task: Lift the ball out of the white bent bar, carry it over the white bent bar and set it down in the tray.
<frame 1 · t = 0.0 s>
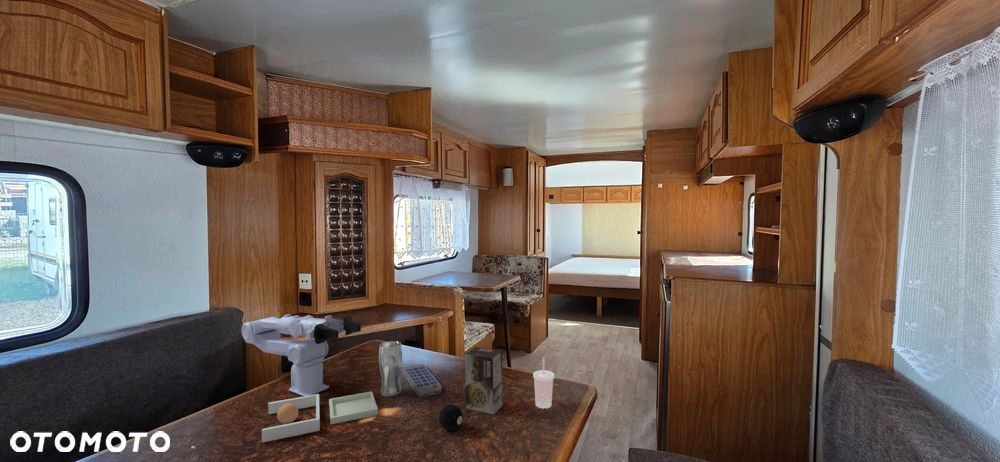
hand: (348, 331, 115), 22 cm above the table, tool horizontal, fingers open, 7 cm apart
billiard ball: (450, 429, 104), on the table
beverage cup: (543, 405, 116), on the table
beer glass: (391, 392, 125), on the table
ball: (288, 422, 107), on the table
white bent bar: (317, 416, 110), on the table
remote control: (420, 382, 133), on the table
tray: (352, 409, 114), on the table
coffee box: (484, 407, 115), on the table
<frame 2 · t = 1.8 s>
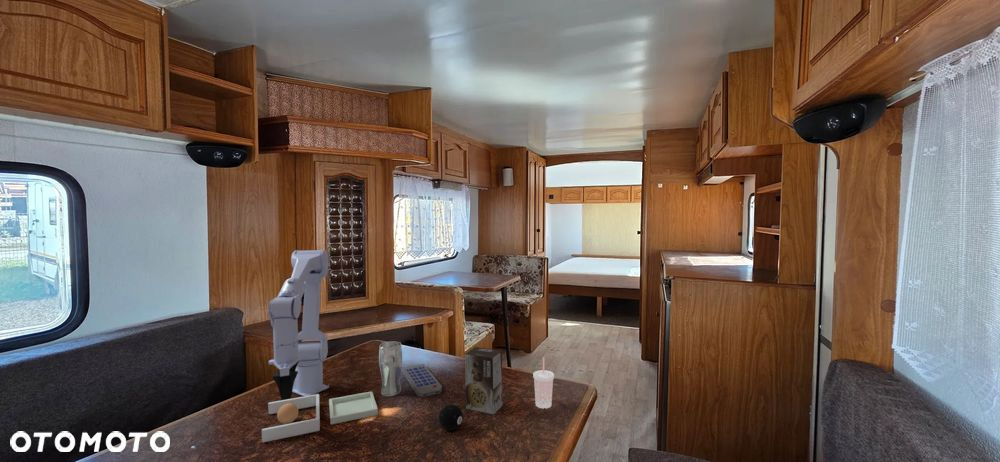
hand: (287, 392, 106), 8 cm above the table, tool pointing down, fingers open, 7 cm apart
nothing on the table moved.
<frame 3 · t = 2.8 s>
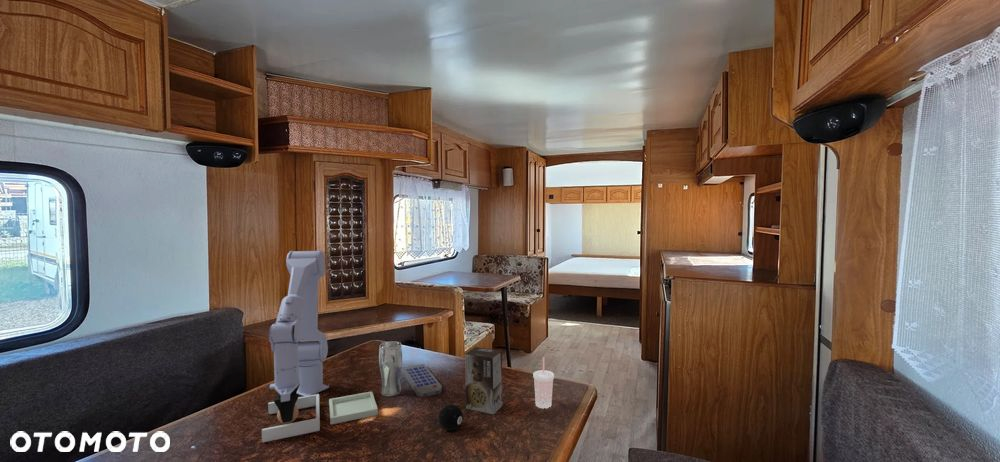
hand: (288, 416, 107), 2 cm above the table, tool pointing down, fingers closed on ball, 5 cm apart
ball: (288, 422, 107), on the table, touching gripper
everything else where it was.
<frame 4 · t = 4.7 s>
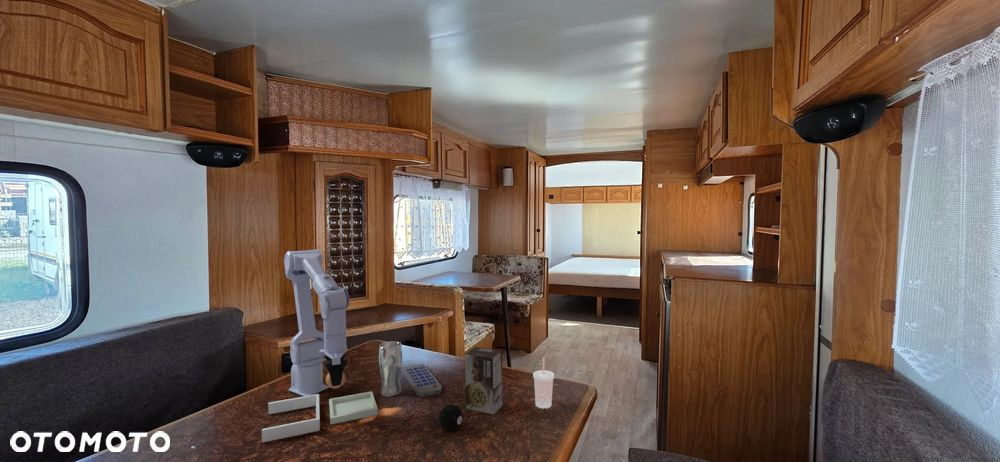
hand: (336, 381, 111), 9 cm above the table, tool pointing down, fingers closed on ball, 5 cm apart
ball: (335, 387, 111), point 7 cm above the table, touching gripper
everything else where it was.
when the fingers open (4 cm above the table, at t = 6.5 s): ball drops 2 cm, resting on tray.
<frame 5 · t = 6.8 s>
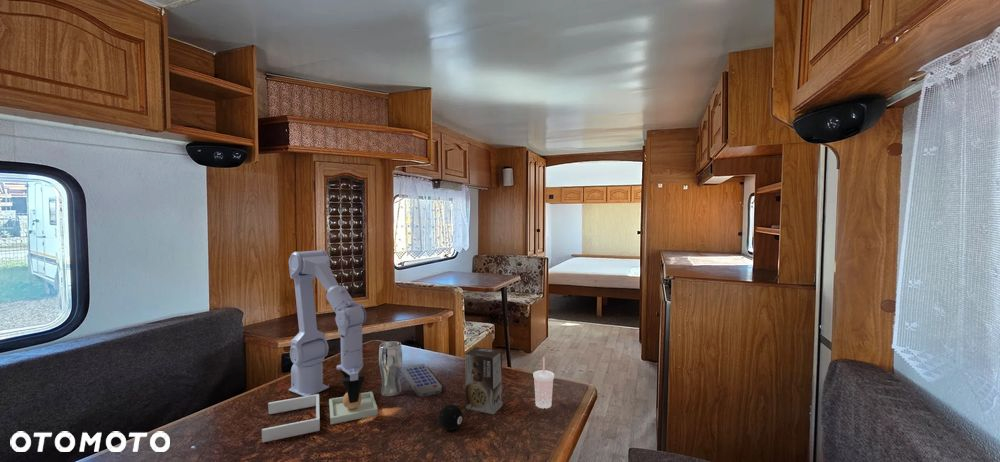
hand: (352, 396, 113), 4 cm above the table, tool pointing down, fingers open, 7 cm apart
ball: (352, 408, 113), point 1 cm above the table, touching tray
everything else where it was.
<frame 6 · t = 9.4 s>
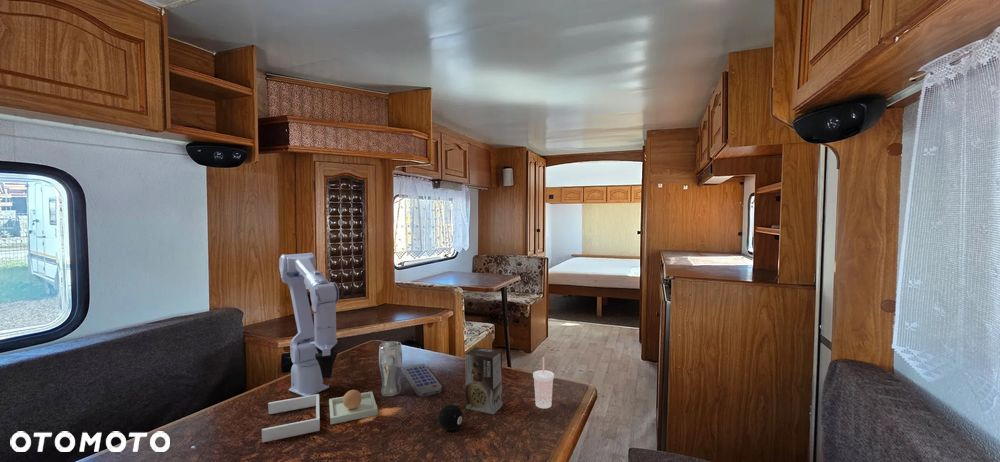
hand: (326, 372, 115), 10 cm above the table, tool pointing down, fingers open, 7 cm apart
nothing on the table moved.
at the end: ball 0.1 cm from the tray (horizontally); ball point 0.5 cm above the table; the gripper is holding nothing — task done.
